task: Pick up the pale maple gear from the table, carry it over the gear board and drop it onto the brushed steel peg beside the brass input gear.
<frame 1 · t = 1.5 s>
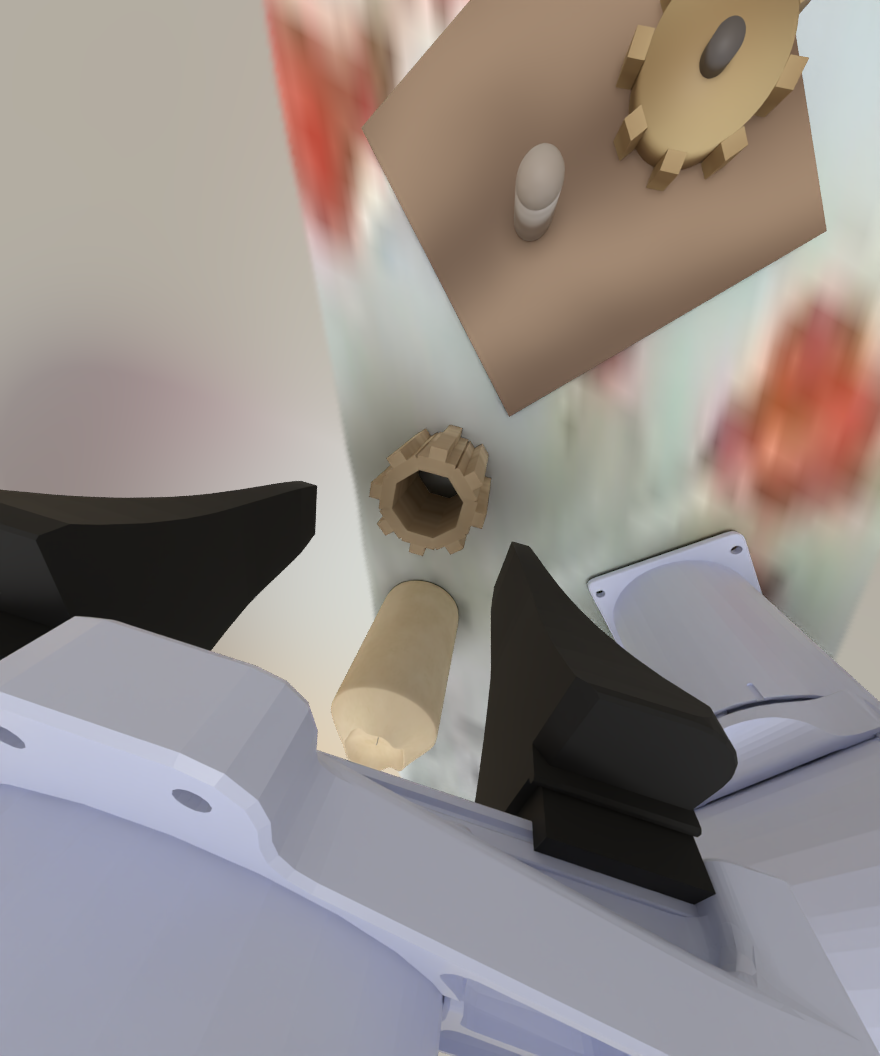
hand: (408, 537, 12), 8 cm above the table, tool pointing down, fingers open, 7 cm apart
maple gear: (445, 471, 19), on the table
gear board: (579, 190, 13), on the table
candle: (422, 608, 24), on the table
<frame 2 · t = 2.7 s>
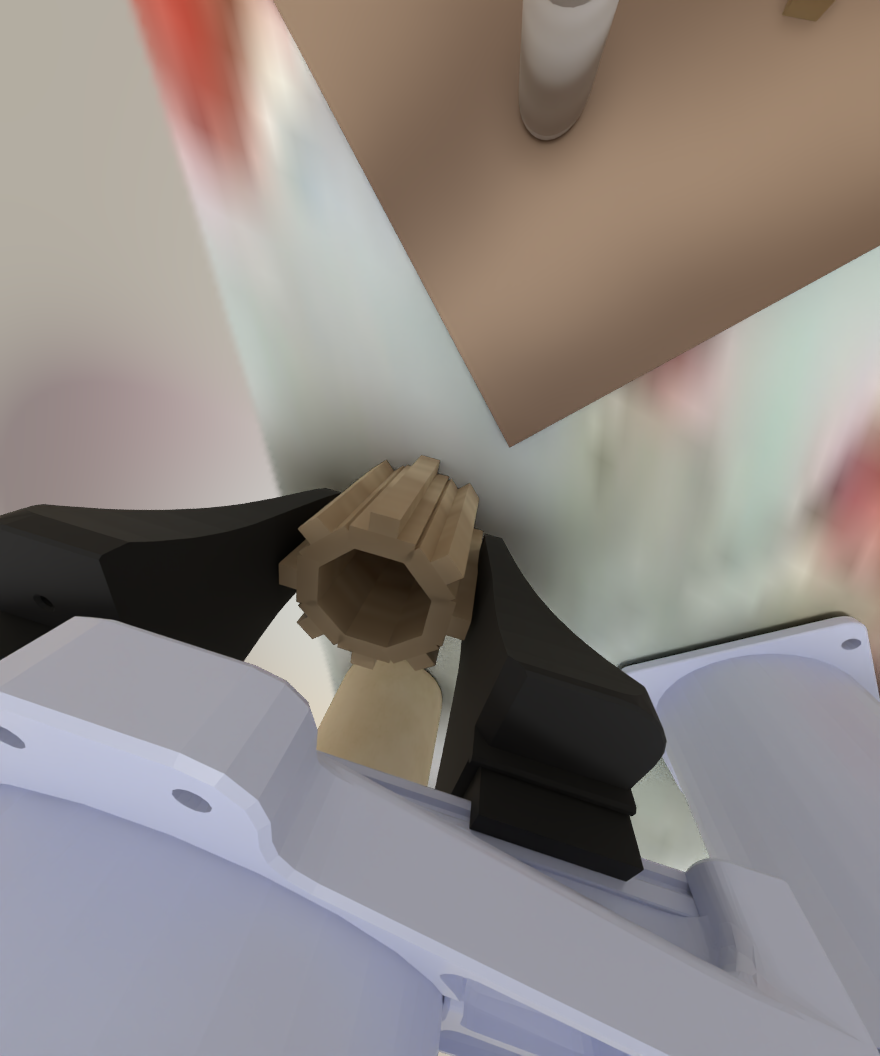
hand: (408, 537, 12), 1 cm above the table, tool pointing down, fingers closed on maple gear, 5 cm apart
maple gear: (417, 520, 13), on the table, touching gripper
gear board: (638, 45, 7), on the table
candle: (395, 686, 18), on the table
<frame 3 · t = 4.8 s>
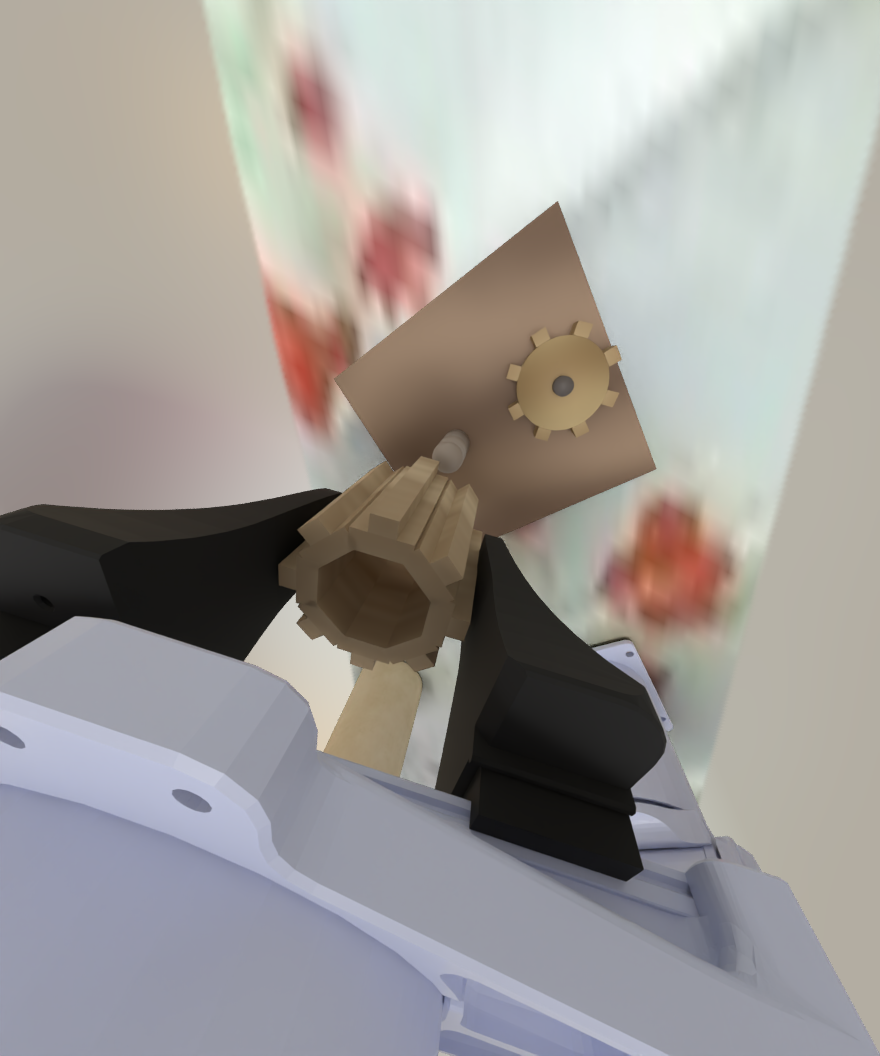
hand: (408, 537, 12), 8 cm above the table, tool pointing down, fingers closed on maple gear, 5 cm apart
maple gear: (416, 521, 13), point 7 cm above the table, touching gripper
gear board: (491, 419, 17), on the table
candle: (393, 676, 29), on the table
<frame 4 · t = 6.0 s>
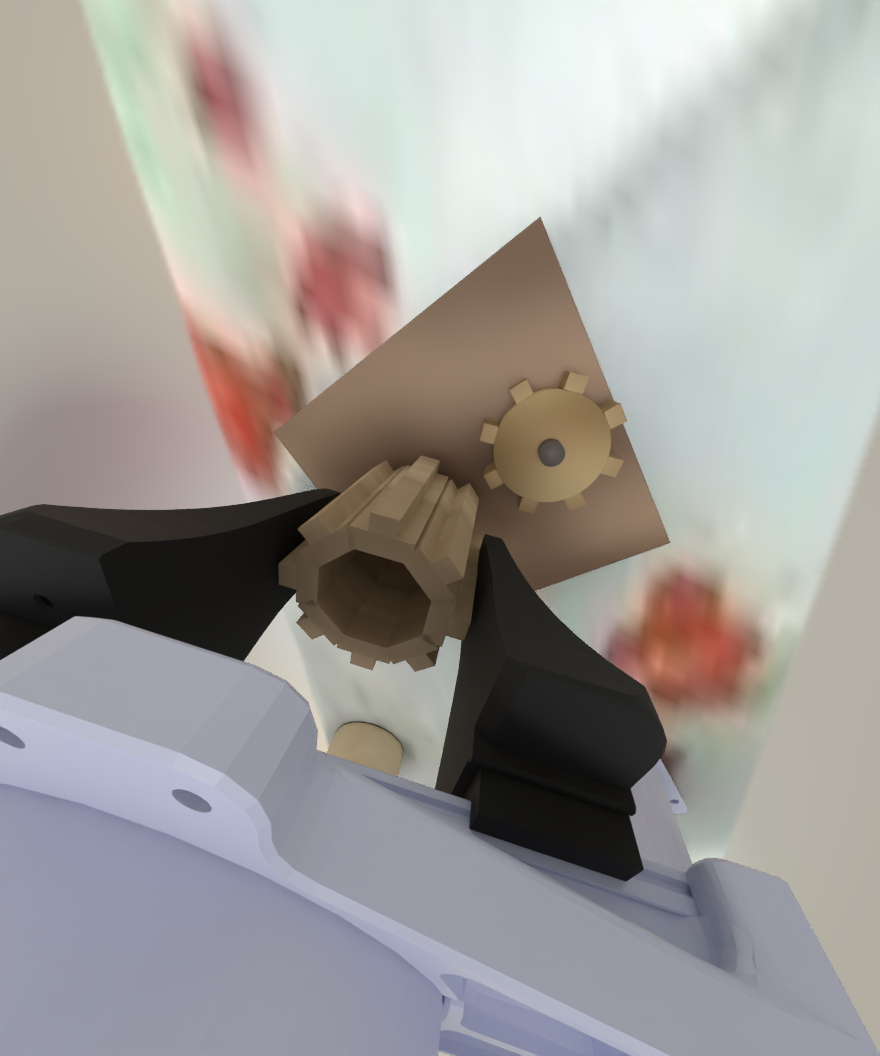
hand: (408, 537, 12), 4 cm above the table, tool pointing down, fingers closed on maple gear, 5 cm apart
maple gear: (417, 520, 13), point 2 cm above the table, touching gripper
gear board: (467, 477, 14), on the table
candle: (370, 741, 26), on the table
when the fingers open (3 cm above the table, at t = 7.1 s): maple gear stays where it is, resting on gear board.
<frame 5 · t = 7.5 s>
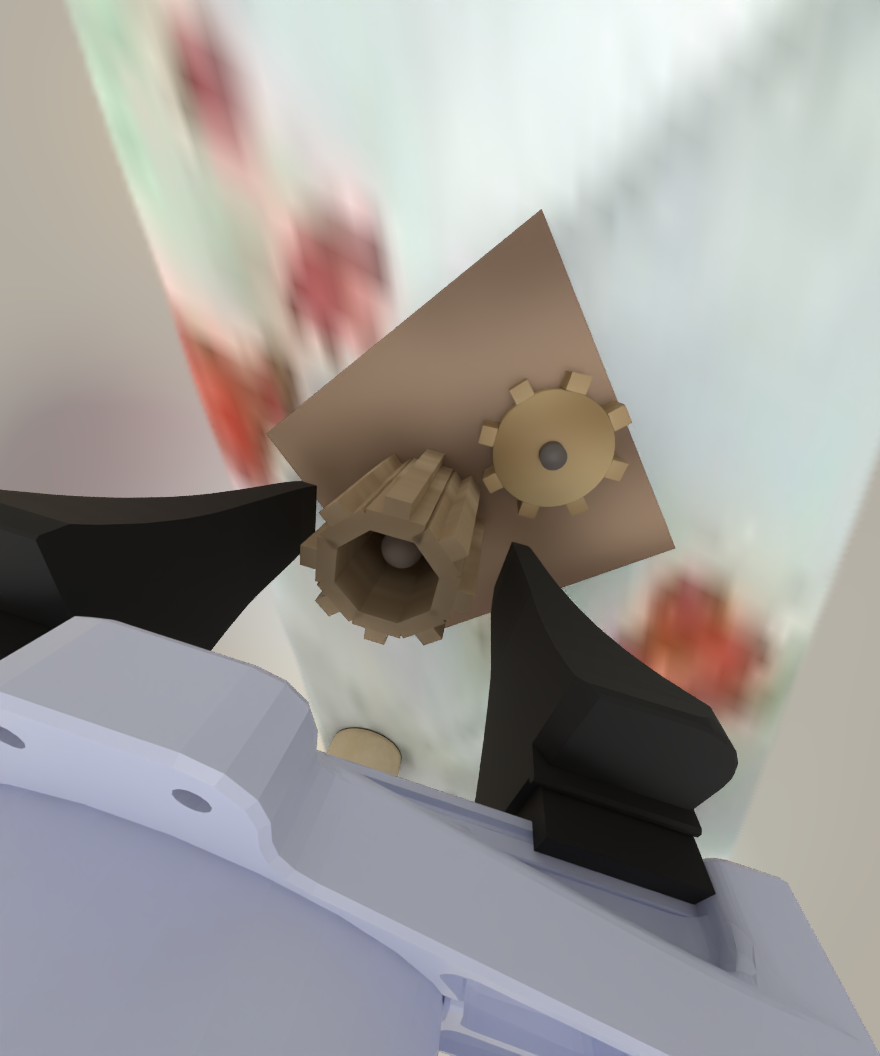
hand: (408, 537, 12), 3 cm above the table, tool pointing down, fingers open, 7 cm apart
maple gear: (423, 510, 14), point 1 cm above the table, touching gear board
gear board: (466, 480, 14), on the table
candle: (368, 746, 25), on the table
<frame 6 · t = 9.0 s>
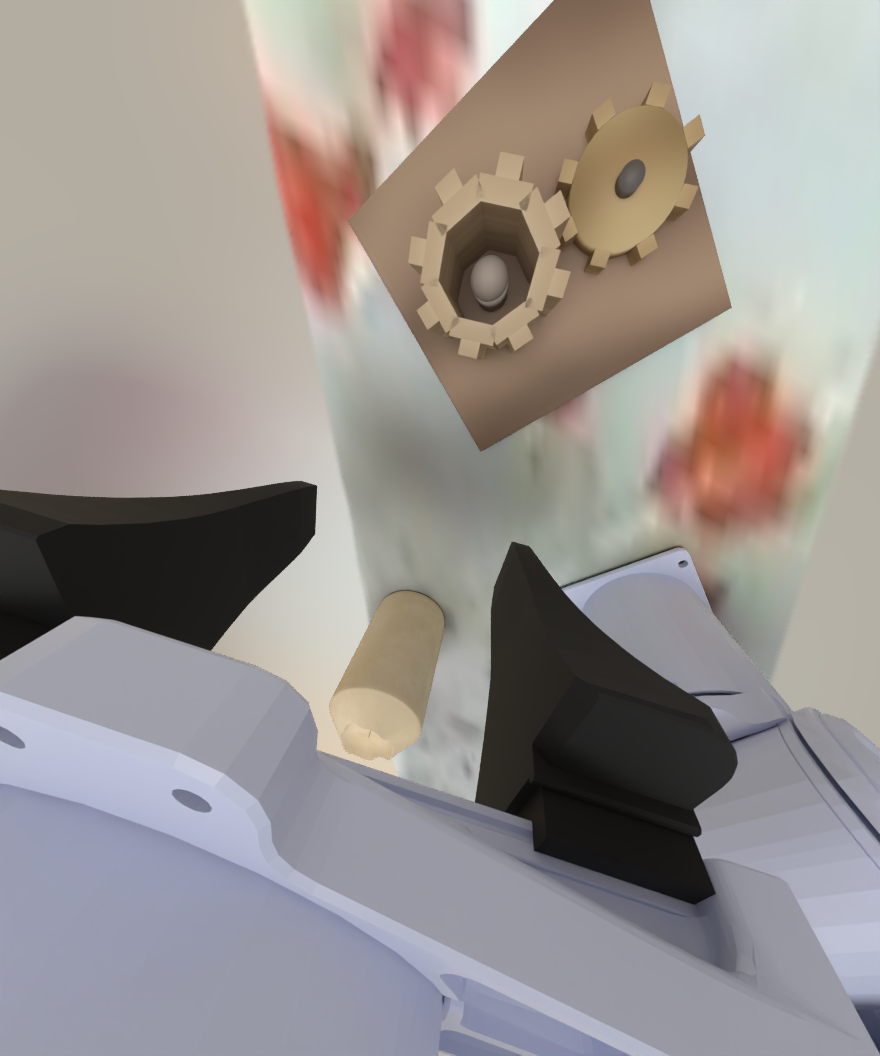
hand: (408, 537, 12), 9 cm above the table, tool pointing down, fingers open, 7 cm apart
maple gear: (492, 294, 15), point 1 cm above the table, touching gear board
gear board: (531, 268, 15), on the table
candle: (412, 615, 26), on the table
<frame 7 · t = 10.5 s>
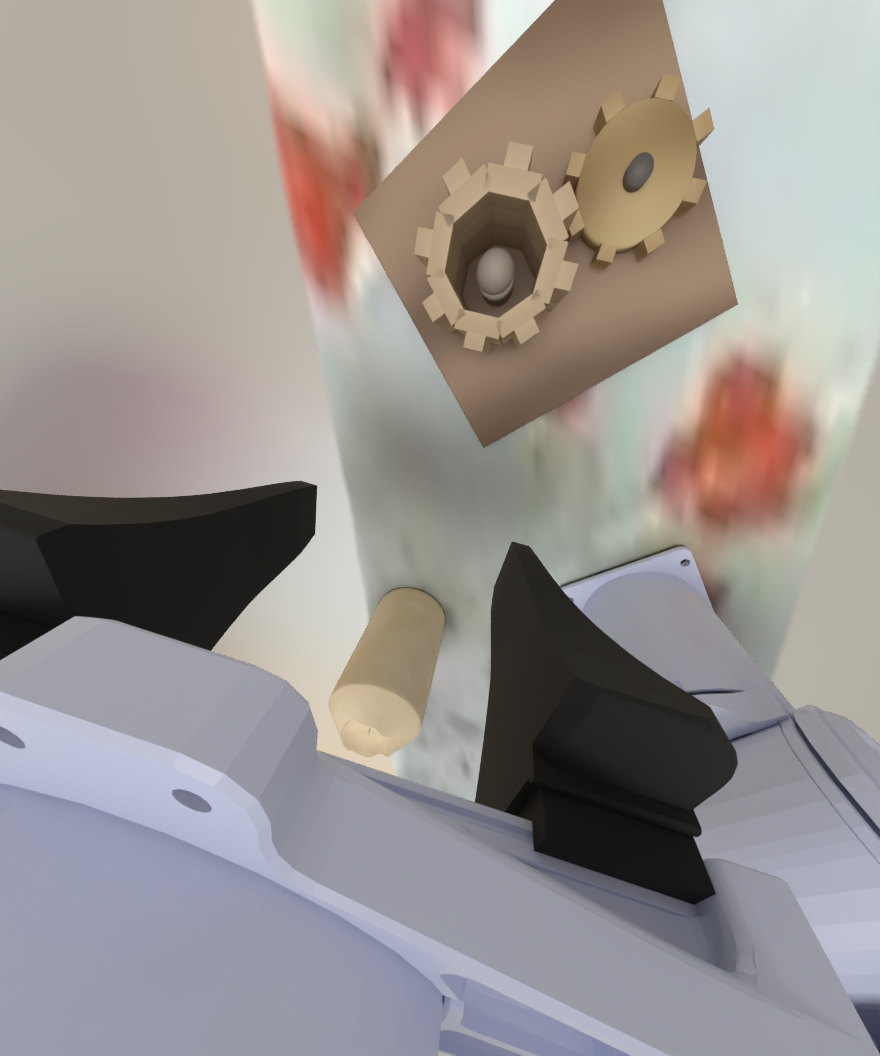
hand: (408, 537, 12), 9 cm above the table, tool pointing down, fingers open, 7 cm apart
maple gear: (497, 289, 15), point 1 cm above the table, touching gear board
gear board: (537, 263, 15), on the table
candle: (412, 613, 26), on the table
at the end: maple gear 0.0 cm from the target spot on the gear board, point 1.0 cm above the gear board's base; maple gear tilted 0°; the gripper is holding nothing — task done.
